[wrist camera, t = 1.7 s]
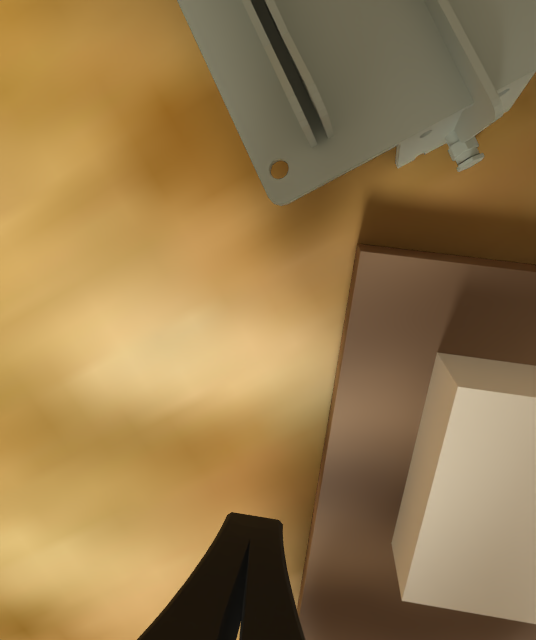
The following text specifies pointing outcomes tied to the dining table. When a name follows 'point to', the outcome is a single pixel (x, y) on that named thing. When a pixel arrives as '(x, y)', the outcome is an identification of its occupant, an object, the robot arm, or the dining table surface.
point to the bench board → (400, 432)
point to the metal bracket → (362, 78)
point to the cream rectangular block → (472, 492)
